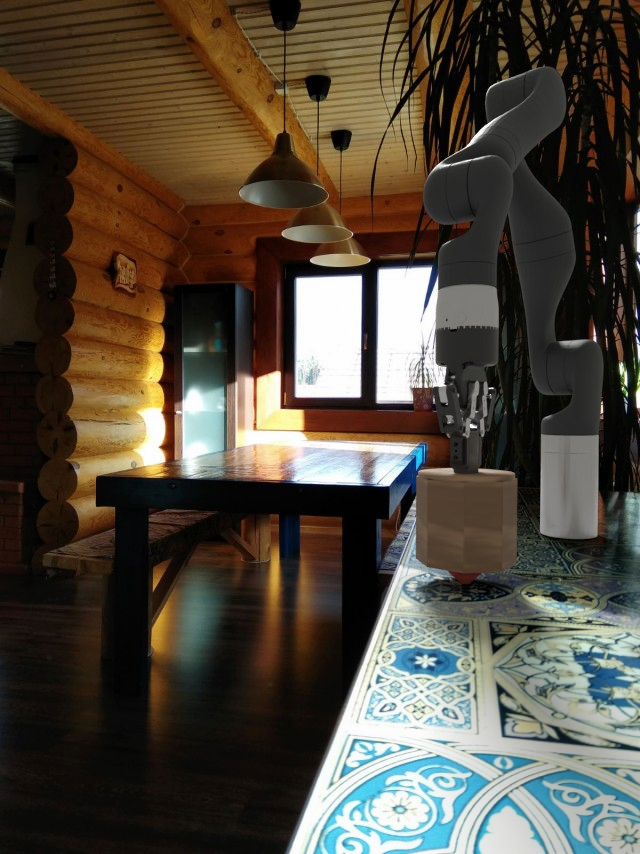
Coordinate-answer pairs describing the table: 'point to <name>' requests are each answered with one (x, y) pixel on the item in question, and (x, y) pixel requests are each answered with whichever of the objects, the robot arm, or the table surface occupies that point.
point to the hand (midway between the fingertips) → (465, 467)
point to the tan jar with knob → (466, 517)
